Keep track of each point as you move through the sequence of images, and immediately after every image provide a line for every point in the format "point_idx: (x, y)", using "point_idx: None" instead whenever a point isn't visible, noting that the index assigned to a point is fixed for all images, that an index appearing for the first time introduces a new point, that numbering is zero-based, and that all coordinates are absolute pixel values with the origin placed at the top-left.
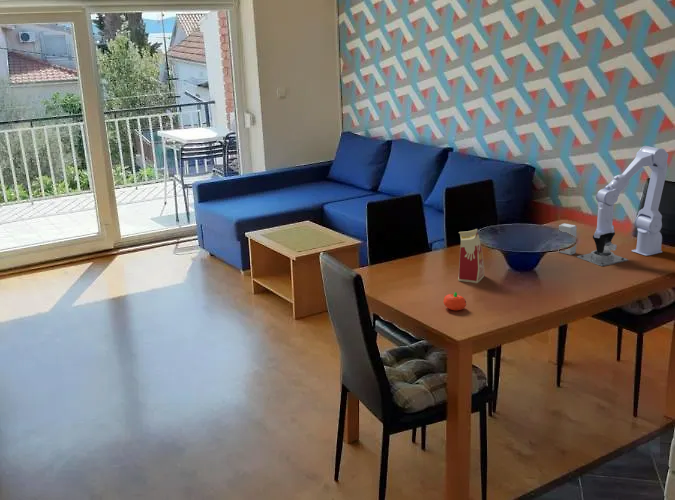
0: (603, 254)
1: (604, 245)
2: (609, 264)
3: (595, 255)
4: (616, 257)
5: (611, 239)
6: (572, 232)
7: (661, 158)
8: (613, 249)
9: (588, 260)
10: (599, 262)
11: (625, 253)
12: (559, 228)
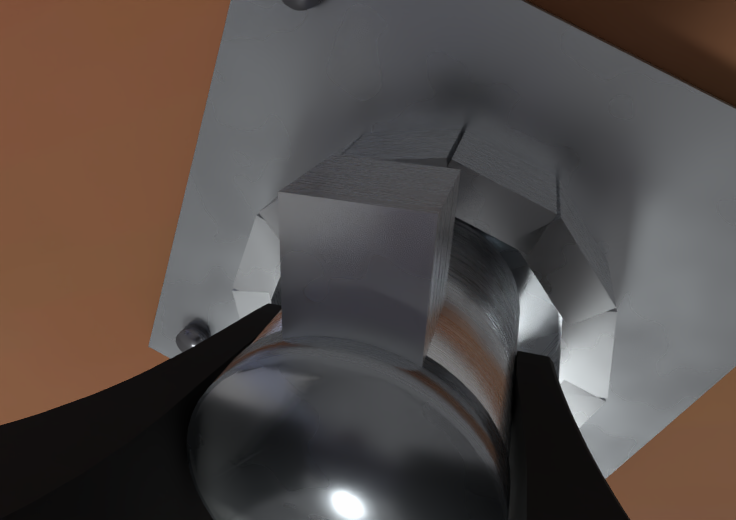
0: (516, 316)
1: (538, 463)
2: (725, 103)
3: (587, 412)
4: (291, 111)
5: (105, 406)
6: None
7: None
8: (455, 198)
9: (658, 432)
10: (723, 283)
11: (4, 71)
12: None
